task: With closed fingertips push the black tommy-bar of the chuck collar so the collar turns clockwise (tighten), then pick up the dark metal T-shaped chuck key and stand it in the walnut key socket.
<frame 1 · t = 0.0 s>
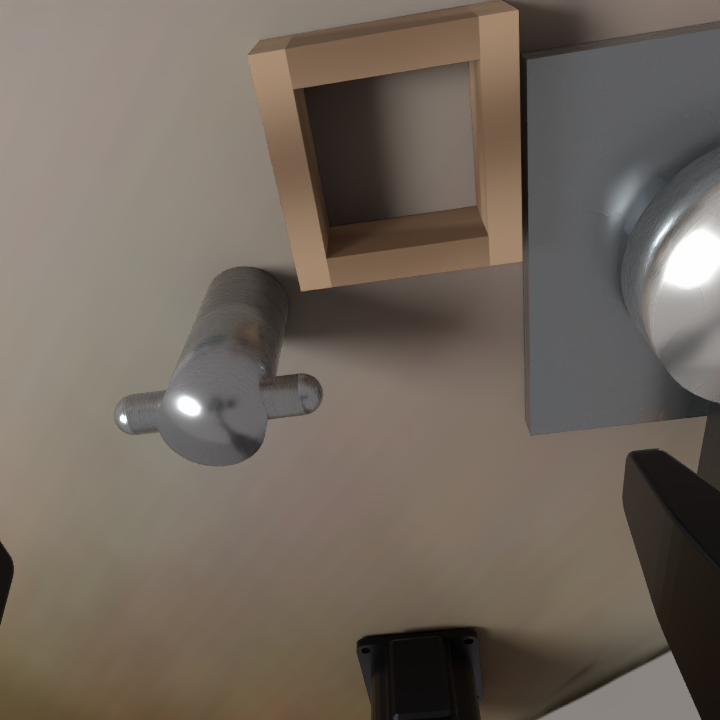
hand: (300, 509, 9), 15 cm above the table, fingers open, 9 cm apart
key socket: (393, 142, 21), on the table
chuck key: (247, 304, 24), on the table
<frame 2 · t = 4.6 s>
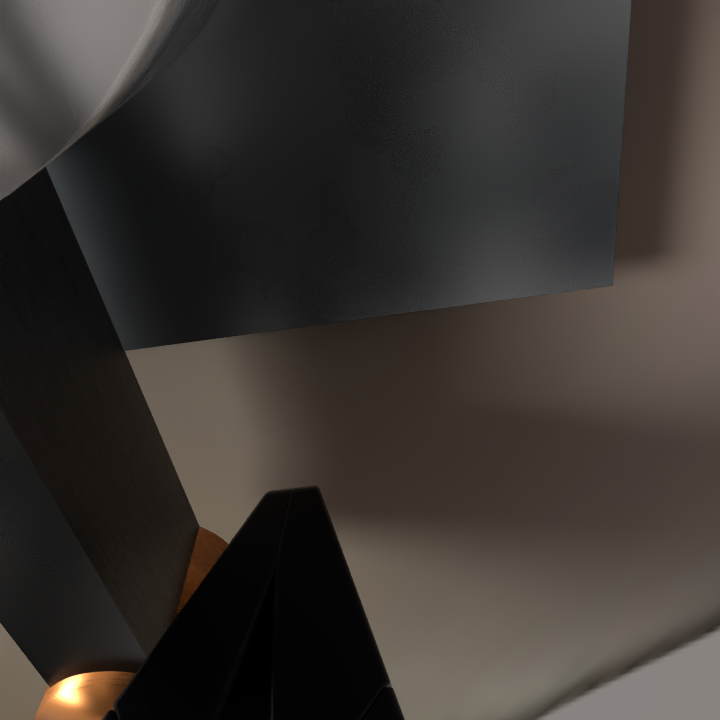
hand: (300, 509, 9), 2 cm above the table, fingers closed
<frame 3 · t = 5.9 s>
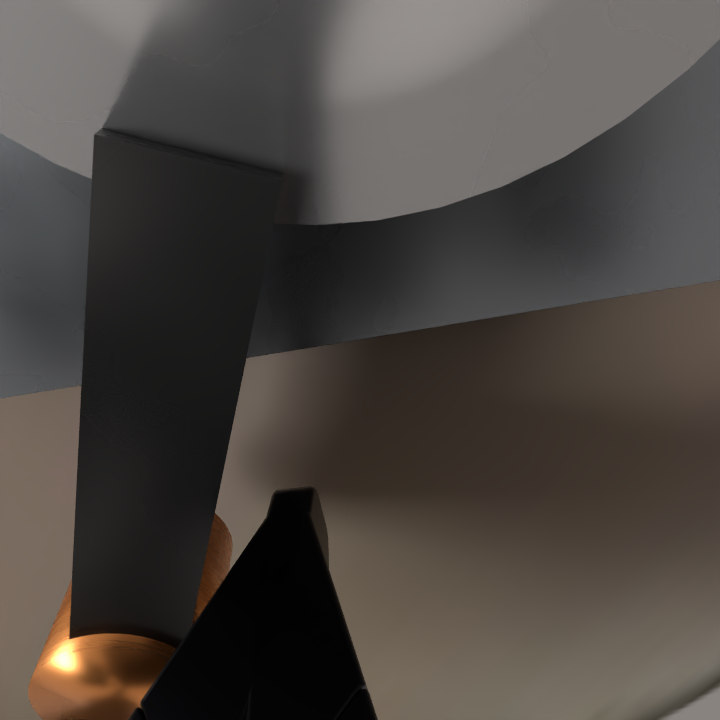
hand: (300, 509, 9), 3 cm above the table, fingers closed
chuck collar: (190, 187, 5), point 4 cm above the table, hinge at 24.5°, touching gripper
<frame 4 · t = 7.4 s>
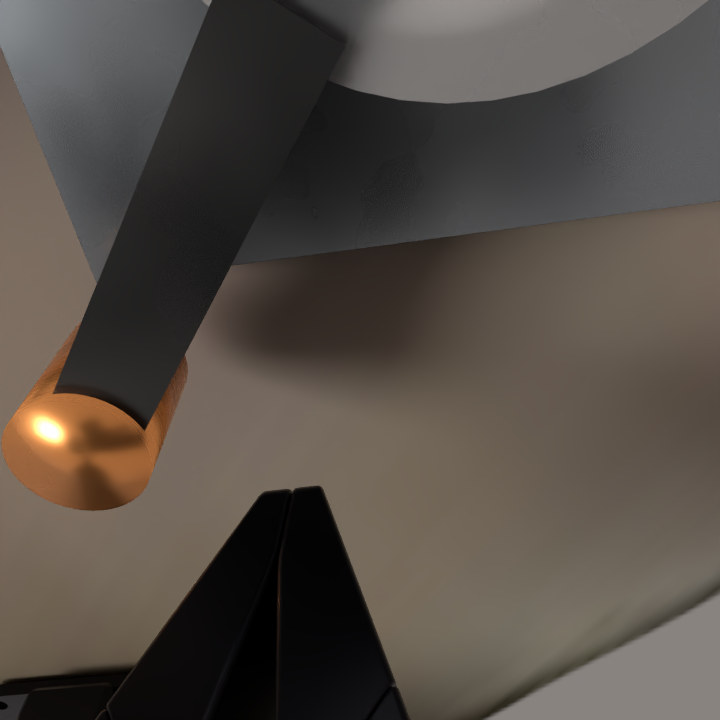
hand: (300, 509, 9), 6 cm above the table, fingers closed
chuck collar: (275, 33, 7), point 4 cm above the table, hinge at 38.4°
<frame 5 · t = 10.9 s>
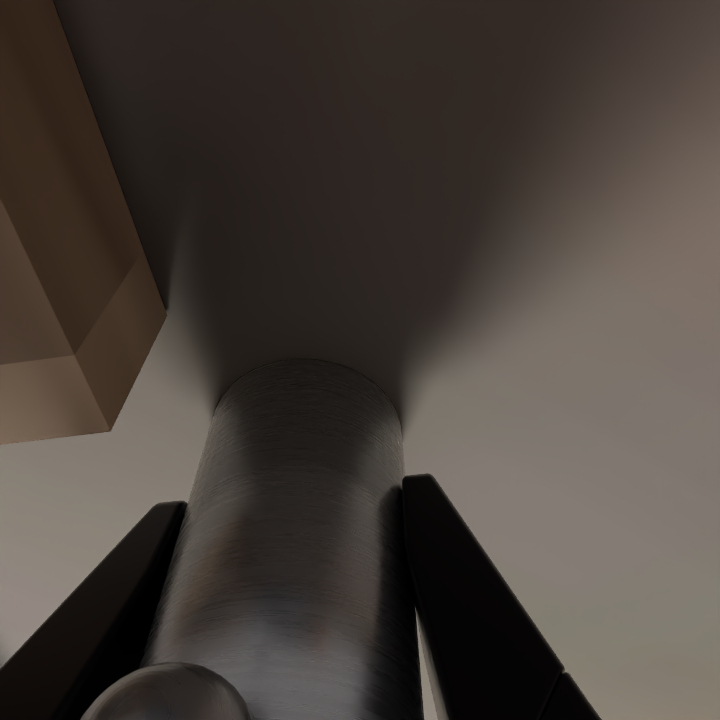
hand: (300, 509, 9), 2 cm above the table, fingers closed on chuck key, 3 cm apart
chuck key: (307, 437, 10), on the table, touching gripper
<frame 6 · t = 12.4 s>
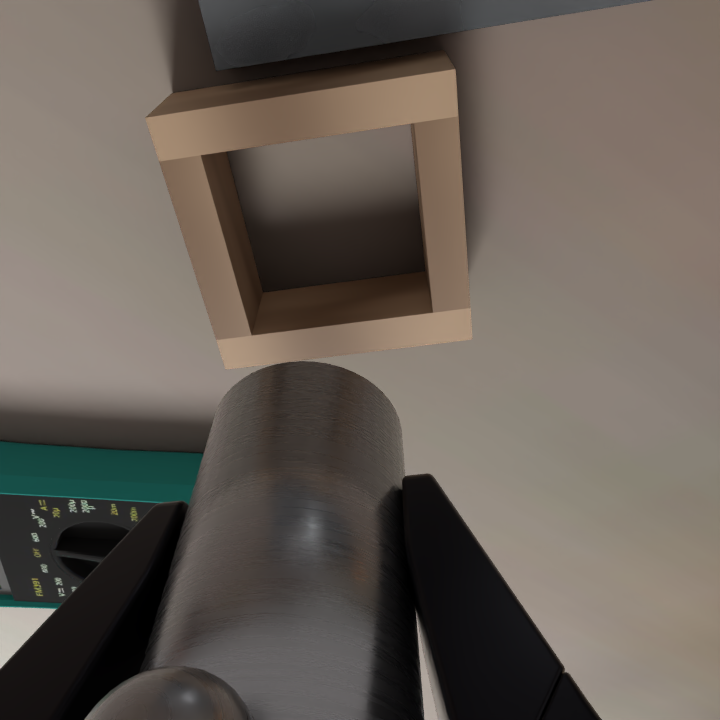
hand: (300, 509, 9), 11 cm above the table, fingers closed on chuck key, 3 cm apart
key socket: (329, 203, 19), on the table
digital multimeter: (116, 500, 26), on the table
chuck key: (307, 439, 10), point 10 cm above the table, touching gripper
when the fingers open (3 cm above the table, at t = 14.1 s): chuck key drops 1 cm, resting in key socket.
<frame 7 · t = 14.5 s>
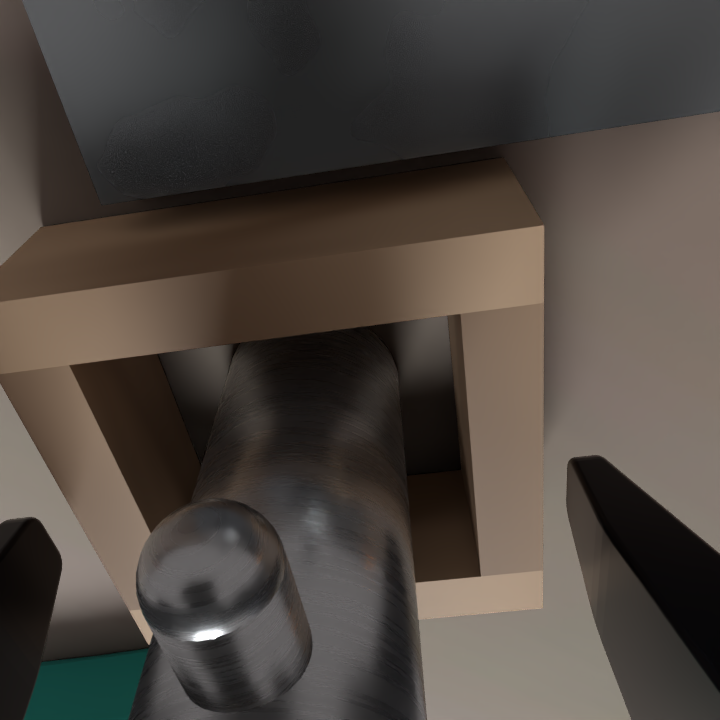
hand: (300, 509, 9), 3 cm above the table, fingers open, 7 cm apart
key socket: (310, 382, 12), on the table
digital multimeter: (25, 714, 19), on the table
chuck key: (314, 384, 12), resting in key socket
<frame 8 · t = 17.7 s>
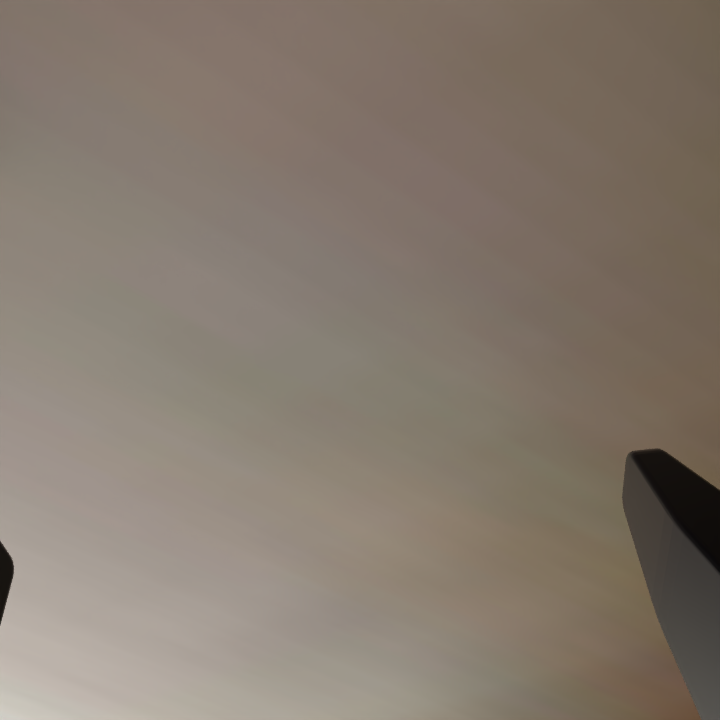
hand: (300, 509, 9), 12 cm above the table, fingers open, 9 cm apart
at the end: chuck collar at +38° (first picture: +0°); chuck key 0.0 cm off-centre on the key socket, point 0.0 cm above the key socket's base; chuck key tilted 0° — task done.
